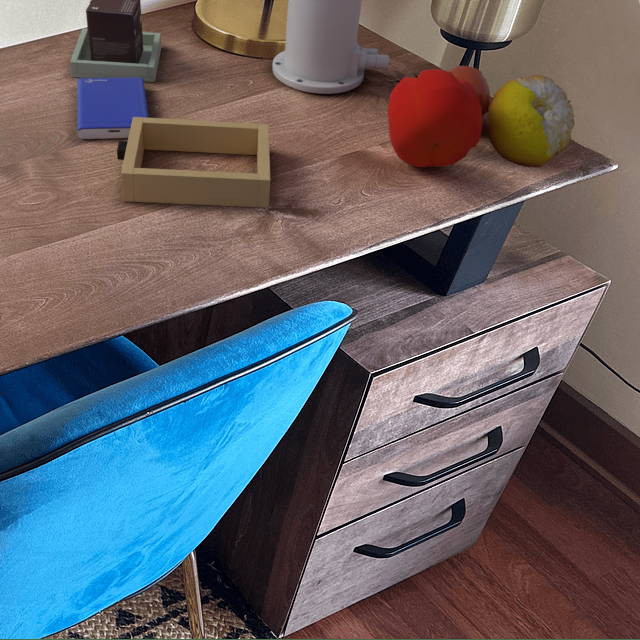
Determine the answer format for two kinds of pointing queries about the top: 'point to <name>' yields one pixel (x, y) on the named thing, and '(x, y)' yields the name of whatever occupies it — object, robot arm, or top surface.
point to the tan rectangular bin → (195, 183)
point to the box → (115, 30)
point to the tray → (101, 69)
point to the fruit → (530, 120)
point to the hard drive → (109, 106)
